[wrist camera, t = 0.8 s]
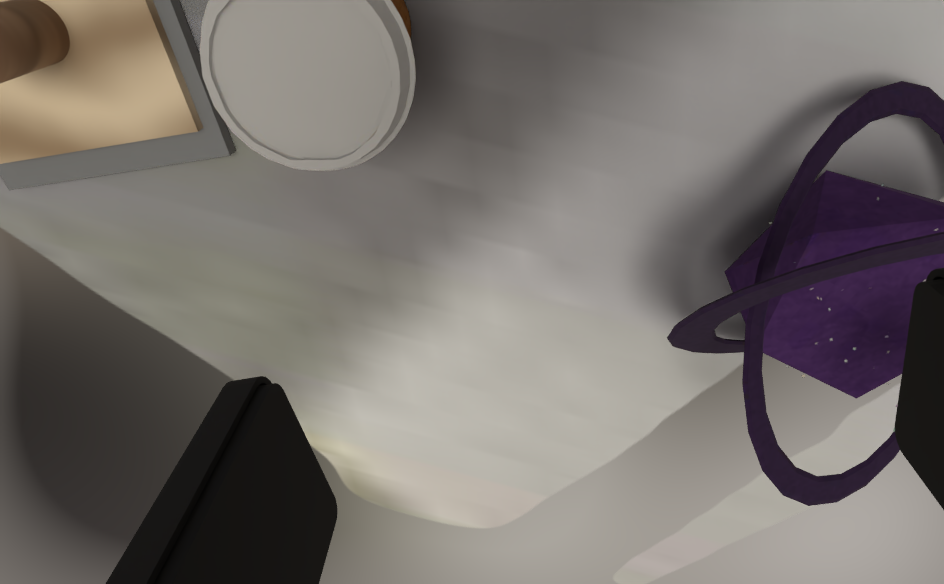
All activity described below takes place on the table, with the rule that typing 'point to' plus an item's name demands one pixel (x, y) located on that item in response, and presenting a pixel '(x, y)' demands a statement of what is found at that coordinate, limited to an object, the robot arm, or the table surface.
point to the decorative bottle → (830, 288)
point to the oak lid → (87, 77)
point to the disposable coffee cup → (310, 76)
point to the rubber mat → (147, 152)
